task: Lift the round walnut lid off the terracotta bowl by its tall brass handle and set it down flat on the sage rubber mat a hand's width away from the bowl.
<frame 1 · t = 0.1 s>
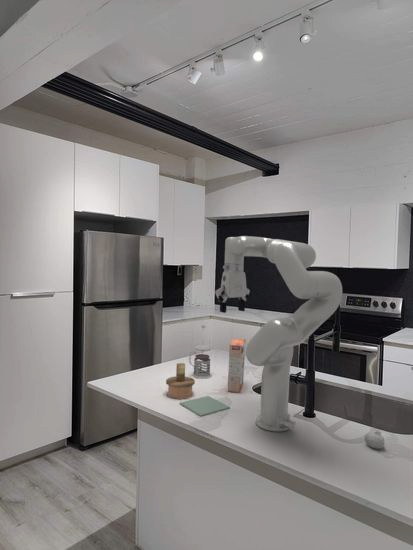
hand: (232, 311, 153), 37 cm above the countertop, tool pointing down, fingers open, 9 cm apart
bowl: (180, 394, 162), on the countertop
cracker box: (236, 387, 173), on the countertop
lid: (180, 382, 162), point 5 cm above the countertop, touching bowl
garlic: (374, 447, 121), on the countertop
french press: (200, 376, 188), on the countertop
mat: (204, 406, 150), on the countertop
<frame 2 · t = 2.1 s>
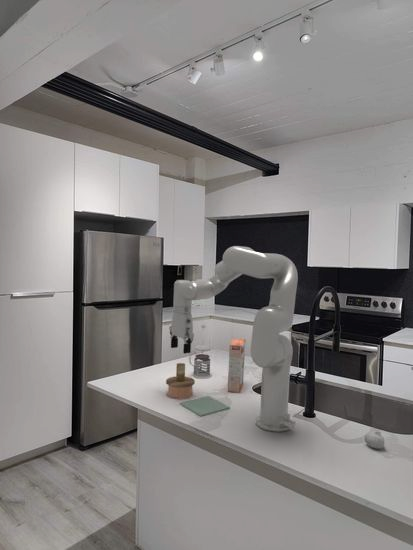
hand: (180, 350, 161), 19 cm above the countertop, tool pointing down, fingers open, 9 cm apart
nothing on the countertop moved.
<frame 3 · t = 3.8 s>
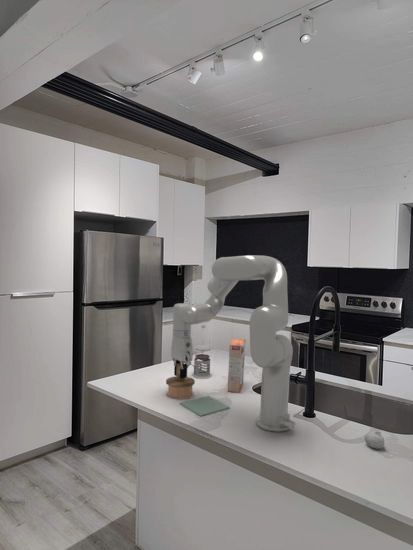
hand: (180, 376, 161), 8 cm above the countertop, tool pointing down, fingers closed on lid, 3 cm apart
lid: (180, 382, 162), point 5 cm above the countertop, touching bowl, gripper
everything else where it was.
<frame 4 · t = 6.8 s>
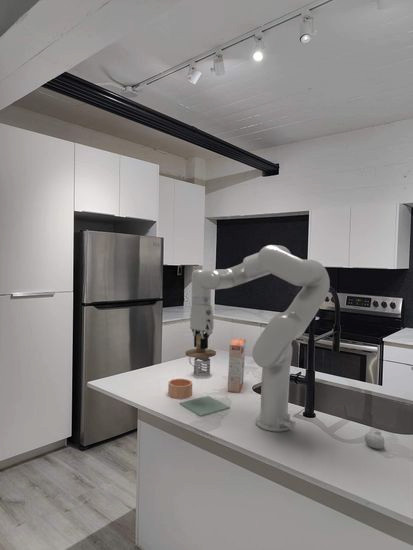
hand: (200, 347, 151), 23 cm above the countertop, tool pointing down, fingers closed on lid, 3 cm apart
lid: (200, 354, 151), point 20 cm above the countertop, touching gripper
everything else where it was.
when the fingers open (5 cm above the countertop, at t = 10.2 s): lid drops 1 cm, resting on mat.
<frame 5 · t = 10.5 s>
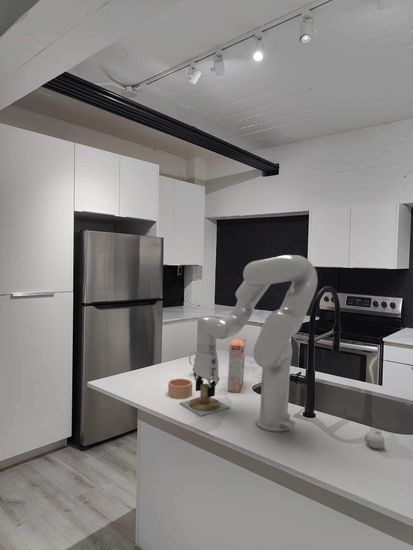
hand: (204, 393, 149), 5 cm above the countertop, tool pointing down, fingers open, 7 cm apart
lid: (204, 404, 150), point 1 cm above the countertop, touching mat
everything else where it was.
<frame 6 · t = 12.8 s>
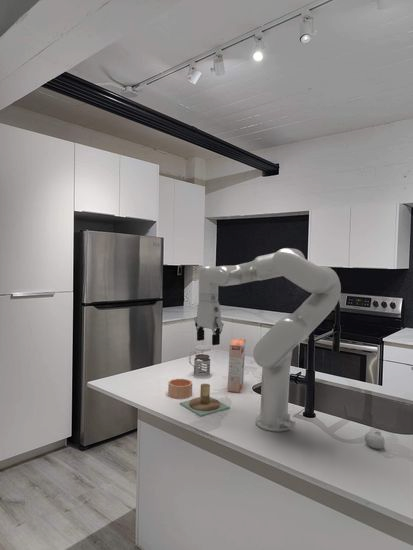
hand: (208, 342, 148), 25 cm above the countertop, tool pointing down, fingers open, 9 cm apart
nothing on the countertop moved.
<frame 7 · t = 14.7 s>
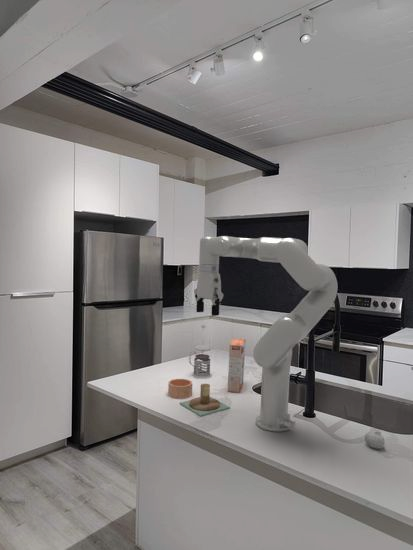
hand: (207, 313, 148), 36 cm above the countertop, tool pointing down, fingers open, 9 cm apart
nothing on the countertop moved.
at the end: lid inside the target area on the mat (0.1 cm from its centre), point 0.6 cm above the mat's base; lid tilted 0°; the gripper is holding nothing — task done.
